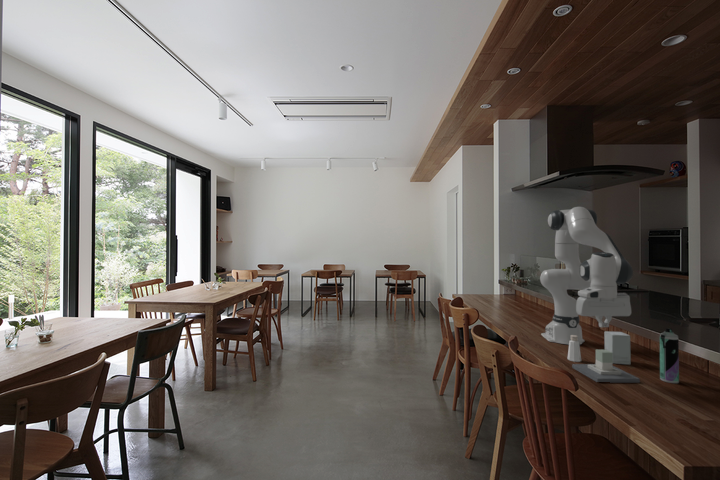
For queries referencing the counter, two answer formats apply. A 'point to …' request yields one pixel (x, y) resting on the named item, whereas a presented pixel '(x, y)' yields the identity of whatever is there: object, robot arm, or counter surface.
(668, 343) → the spray can
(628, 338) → the supplement box
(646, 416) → the counter surface
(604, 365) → the block stack
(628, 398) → the counter surface
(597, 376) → the square peg socket board
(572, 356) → the pepper shaker
